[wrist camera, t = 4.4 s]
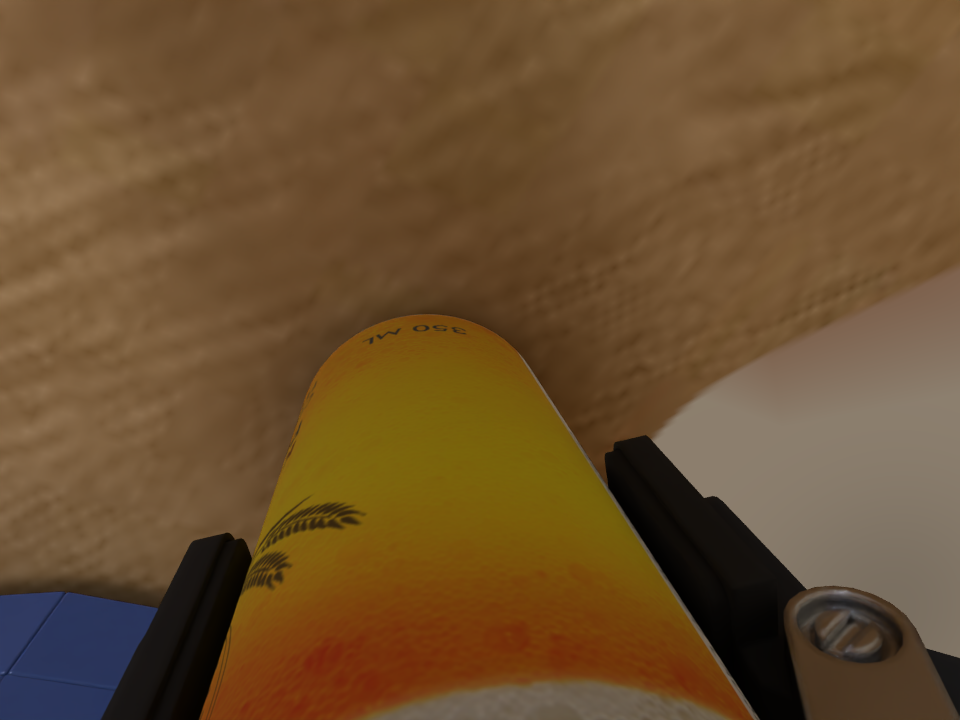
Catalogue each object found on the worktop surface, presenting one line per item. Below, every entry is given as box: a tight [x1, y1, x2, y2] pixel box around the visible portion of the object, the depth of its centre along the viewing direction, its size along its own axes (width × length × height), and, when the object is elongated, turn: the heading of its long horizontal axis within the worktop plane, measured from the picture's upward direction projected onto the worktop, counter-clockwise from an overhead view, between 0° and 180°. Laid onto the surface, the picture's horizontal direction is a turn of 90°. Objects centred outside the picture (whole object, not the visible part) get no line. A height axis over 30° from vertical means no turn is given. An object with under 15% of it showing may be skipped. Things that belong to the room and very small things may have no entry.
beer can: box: [199, 314, 760, 720], centre depth 9 cm, size 6×6×15 cm
